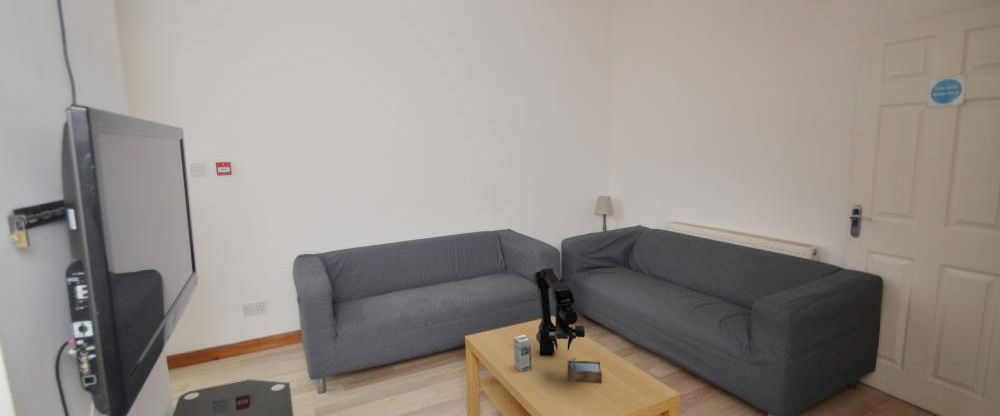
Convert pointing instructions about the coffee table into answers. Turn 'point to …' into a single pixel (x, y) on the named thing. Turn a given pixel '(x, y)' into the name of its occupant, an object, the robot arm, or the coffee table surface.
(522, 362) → the syrup box
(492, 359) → the coffee table surface
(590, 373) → the pencil box
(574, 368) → the cover plate
